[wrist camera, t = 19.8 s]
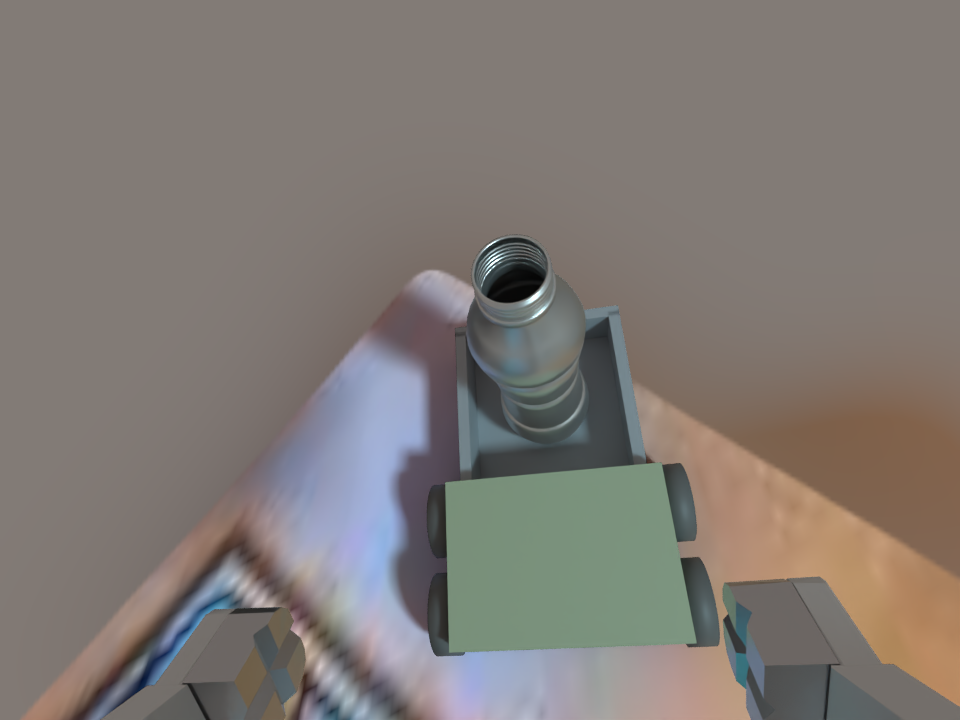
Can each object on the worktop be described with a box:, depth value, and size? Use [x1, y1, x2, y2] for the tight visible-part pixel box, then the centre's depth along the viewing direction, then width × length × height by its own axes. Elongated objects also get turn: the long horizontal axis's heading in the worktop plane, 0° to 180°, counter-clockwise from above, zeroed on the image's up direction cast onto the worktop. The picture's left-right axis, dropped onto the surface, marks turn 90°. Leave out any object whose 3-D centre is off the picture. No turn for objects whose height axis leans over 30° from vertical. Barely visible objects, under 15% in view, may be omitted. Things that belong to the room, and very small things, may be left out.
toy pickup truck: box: [427, 306, 720, 656], centre depth 37 cm, size 23×17×6 cm
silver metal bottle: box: [466, 234, 589, 444], centre depth 32 cm, size 6×7×20 cm
